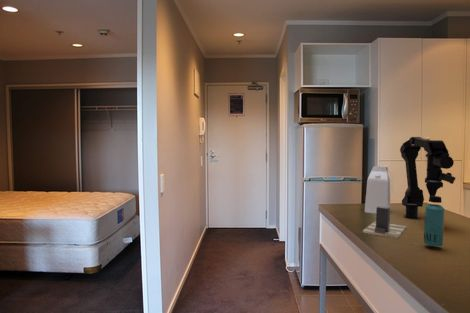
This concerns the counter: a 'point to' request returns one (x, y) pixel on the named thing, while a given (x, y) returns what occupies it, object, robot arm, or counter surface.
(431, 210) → the beverage bottle
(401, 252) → the counter surface
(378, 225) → the fader cap
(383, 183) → the milk
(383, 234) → the console panel
